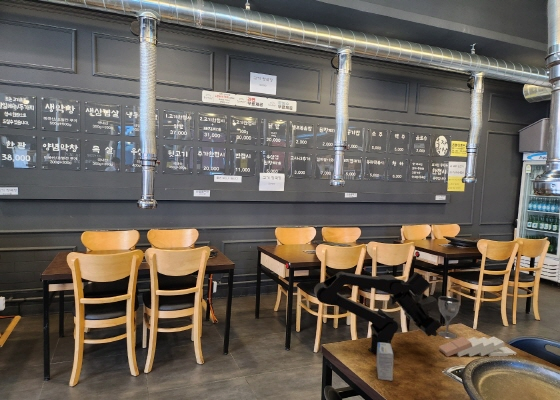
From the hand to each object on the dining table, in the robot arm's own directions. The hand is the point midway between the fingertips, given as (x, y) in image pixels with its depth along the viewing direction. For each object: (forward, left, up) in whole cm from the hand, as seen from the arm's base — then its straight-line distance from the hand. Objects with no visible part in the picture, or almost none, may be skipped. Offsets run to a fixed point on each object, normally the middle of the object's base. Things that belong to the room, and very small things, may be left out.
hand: (436, 335), depth 130 cm
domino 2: (+6, -3, -6) cm, 9 cm away
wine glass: (+20, +10, -7) cm, 23 cm away
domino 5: (+18, -8, -6) cm, 20 cm away
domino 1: (+3, -1, -6) cm, 7 cm away
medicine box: (-28, -3, -7) cm, 30 cm away
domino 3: (+10, -5, -6) cm, 13 cm away
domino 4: (+14, -6, -6) cm, 17 cm away
